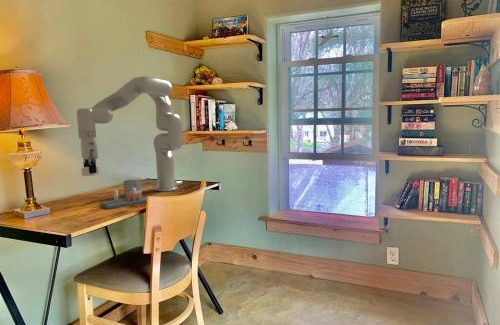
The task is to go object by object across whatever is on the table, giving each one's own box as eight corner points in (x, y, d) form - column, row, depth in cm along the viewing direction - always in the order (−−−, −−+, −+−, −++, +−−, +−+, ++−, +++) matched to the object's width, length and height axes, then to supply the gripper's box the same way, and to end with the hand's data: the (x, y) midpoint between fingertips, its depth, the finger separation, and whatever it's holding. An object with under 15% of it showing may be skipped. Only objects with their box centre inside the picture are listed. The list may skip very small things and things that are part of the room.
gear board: (140, 198, 191) (139, 185, 190) (150, 202, 183) (149, 187, 182) (100, 205, 178) (99, 190, 177) (108, 209, 170) (107, 194, 169)
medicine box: (142, 196, 196) (141, 180, 195) (137, 198, 192) (136, 181, 191) (129, 195, 199) (128, 179, 198) (124, 197, 195) (123, 181, 193)
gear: (95, 173, 184) (95, 165, 184) (100, 174, 179) (100, 167, 178) (80, 174, 180) (79, 167, 179) (84, 176, 174) (84, 169, 174)
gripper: (101, 135, 172) (104, 173, 175) (89, 134, 186) (92, 169, 188) (84, 135, 168) (87, 175, 170) (73, 134, 181) (76, 171, 183)
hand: (90, 172), depth 179 cm, fingers closed on gear, 7 cm apart
